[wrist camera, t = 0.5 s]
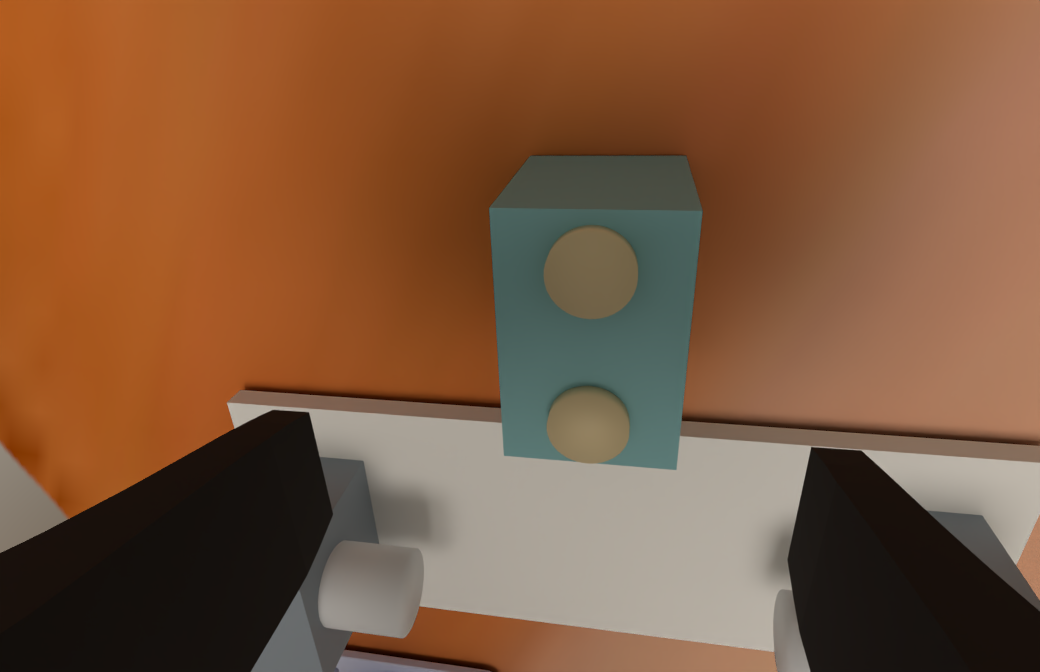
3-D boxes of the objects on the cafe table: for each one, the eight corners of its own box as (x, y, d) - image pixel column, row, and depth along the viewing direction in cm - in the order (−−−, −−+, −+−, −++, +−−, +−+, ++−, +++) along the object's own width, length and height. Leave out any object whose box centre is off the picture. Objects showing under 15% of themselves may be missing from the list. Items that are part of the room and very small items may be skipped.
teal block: (668, 361, 18) (677, 481, 14) (535, 354, 19) (500, 466, 14) (686, 155, 16) (704, 217, 11) (530, 155, 16) (484, 213, 12)
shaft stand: (954, 654, 22) (1045, 843, 17) (292, 573, 26) (210, 704, 21) (1045, 446, 17) (1202, 615, 13) (240, 389, 22) (123, 499, 17)
